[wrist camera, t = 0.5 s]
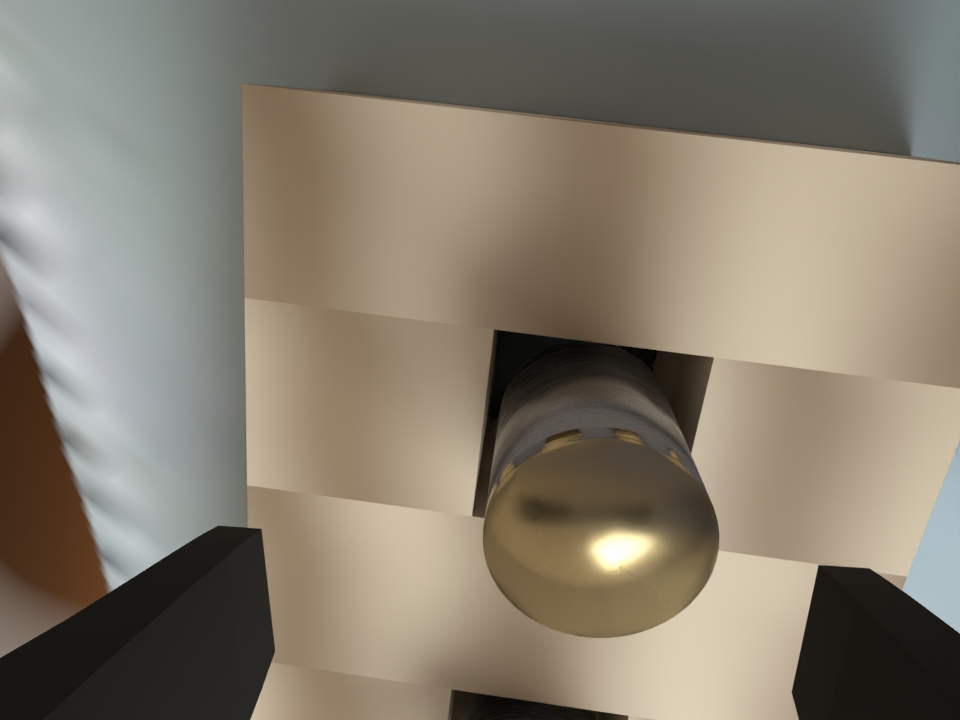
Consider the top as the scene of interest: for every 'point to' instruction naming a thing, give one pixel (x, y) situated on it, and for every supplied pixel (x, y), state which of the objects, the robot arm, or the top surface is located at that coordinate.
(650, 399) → the near peg
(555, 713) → the far peg
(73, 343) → the top surface
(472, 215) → the twin-bore block
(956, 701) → the robot arm
